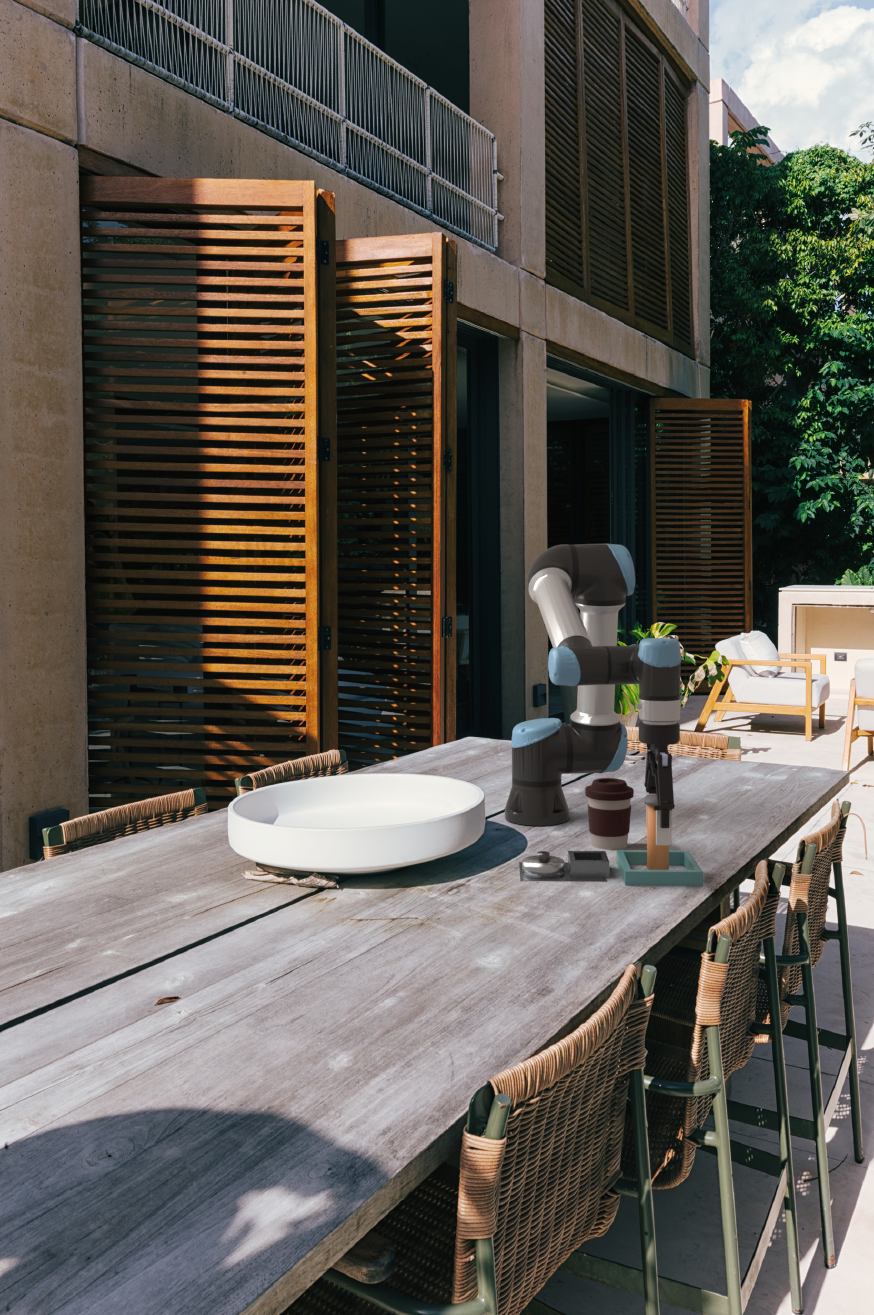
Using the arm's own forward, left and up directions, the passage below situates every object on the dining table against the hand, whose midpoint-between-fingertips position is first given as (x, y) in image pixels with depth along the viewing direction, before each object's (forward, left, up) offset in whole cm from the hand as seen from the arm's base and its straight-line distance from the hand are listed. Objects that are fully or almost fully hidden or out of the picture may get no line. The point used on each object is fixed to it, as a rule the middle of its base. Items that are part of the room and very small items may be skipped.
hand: (658, 835), depth 191 cm
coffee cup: (-20, -7, -9) cm, 23 cm away
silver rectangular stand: (-1, -18, -9) cm, 20 cm away
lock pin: (0, 0, -8) cm, 8 cm away
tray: (0, 0, -9) cm, 9 cm away
